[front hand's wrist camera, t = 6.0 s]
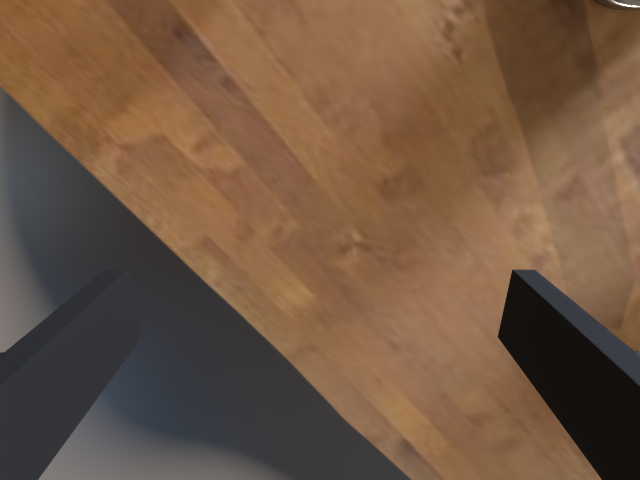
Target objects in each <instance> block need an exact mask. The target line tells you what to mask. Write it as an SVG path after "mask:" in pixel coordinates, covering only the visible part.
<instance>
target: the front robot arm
mask: <svg viewBox="0 0 640 480" xmlns="http://www.w3.org/2000/svg"><path fill="white" fill-rule="evenodd" d="M595 1H597V2H598V3H600V4H602V5H604V6H607V7H610V8H613V9H619V10H634V9H640V0H595ZM141 338H142V334H141V330H140V325H139V320H138V316H137V311H136V306H135V302H134V297H133V293H132V288H131V283H130V279H129V274H128V270H104V271H103V272H102V273H101V274H99V275H98V276H97V277H96V278H95V279H93V280H92V281H91V282H90V283H89V284H87V285H86V286H85V287H84V288H82V289H81V290H80V291H79V292H78V293H76V294H75V295H74V296H73V297H71V298H70V299H69V300H68V301H67V302H65V303H64V304H63V305H62V306H60V307H59V308H58V309H57V310H56V311H54V312H53V313H52V314H51V315H50V316H48V317H47V318H46V319H45V320H43V321H42V322H41V323H40V324H39V325H37V326H36V327H35V328H34V329H32V330H31V331H30V332H29V333H28V334H26V335H25V336H24V337H23V338H22V339H20V340H19V341H18V342H17V343H15V344H14V345H13V346H12V347H11V348H9V349H8V350H7V351H6V352H2V353H0V480H38V479H39V478H40V476H41V475H42V473H43V472H44V471H45V469H46V468H47V467H48V465H49V464H50V462H51V461H52V460H53V458H54V457H55V456H56V454H57V453H58V451H59V450H60V449H61V447H62V446H63V445H64V443H65V442H66V441H67V439H68V438H69V436H70V435H71V434H72V432H73V431H74V430H75V428H76V427H77V425H78V424H79V423H80V421H81V420H82V419H83V417H84V416H85V415H86V413H87V412H88V410H89V409H90V408H91V406H92V405H93V404H94V402H95V401H96V399H97V398H98V397H99V395H100V394H101V393H102V391H103V390H104V388H105V387H106V386H107V384H108V383H109V382H110V380H111V379H112V378H113V376H114V375H115V373H116V372H117V371H118V369H119V368H120V367H121V365H122V364H123V362H124V361H125V360H126V358H127V357H128V356H129V354H130V353H131V352H132V350H133V349H134V347H135V346H136V345H137V343H138V342H139V341H140V339H141ZM498 338H499V339H500V341H501V342H502V343H503V345H504V346H505V347H506V349H507V350H508V352H509V353H510V354H511V356H512V357H513V358H514V360H515V361H516V363H517V364H518V365H519V367H520V368H521V369H522V371H523V372H524V373H525V375H526V376H527V378H528V379H529V380H530V382H531V383H532V384H533V386H534V387H535V389H536V390H537V391H538V393H539V394H540V395H541V397H542V398H543V399H544V401H545V402H546V404H547V405H548V406H549V408H550V409H551V410H552V412H553V413H554V415H555V416H556V417H557V419H558V420H559V421H560V423H561V424H562V425H563V427H564V428H565V430H566V431H567V432H568V434H569V435H570V436H571V438H572V439H573V441H574V442H575V443H576V445H577V446H578V447H579V449H580V450H581V451H582V453H583V454H584V456H585V457H586V458H587V460H588V461H589V462H590V464H591V465H592V467H593V468H594V469H595V471H596V472H597V473H598V475H599V476H600V478H601V479H602V480H640V351H633V350H632V349H631V348H629V347H628V346H627V345H626V344H625V343H623V342H622V341H621V340H620V339H618V338H617V337H616V336H615V335H614V334H612V333H611V332H610V331H609V330H608V329H606V328H605V327H604V326H603V325H601V324H600V323H599V322H598V321H597V320H595V319H594V318H593V317H592V316H590V315H589V314H588V313H587V312H586V311H584V310H583V309H582V308H581V307H580V306H578V305H577V304H576V303H575V302H573V301H572V300H571V299H570V298H569V297H567V296H566V295H565V294H564V293H562V292H561V291H560V290H559V289H558V288H556V287H555V286H554V285H553V284H551V283H550V282H549V281H548V280H547V279H545V278H544V277H543V276H542V275H541V274H539V273H538V272H537V271H536V270H512V274H511V279H510V283H509V288H508V293H507V297H506V302H505V306H504V311H503V316H502V320H501V325H500V329H499V334H498Z"/></svg>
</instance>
